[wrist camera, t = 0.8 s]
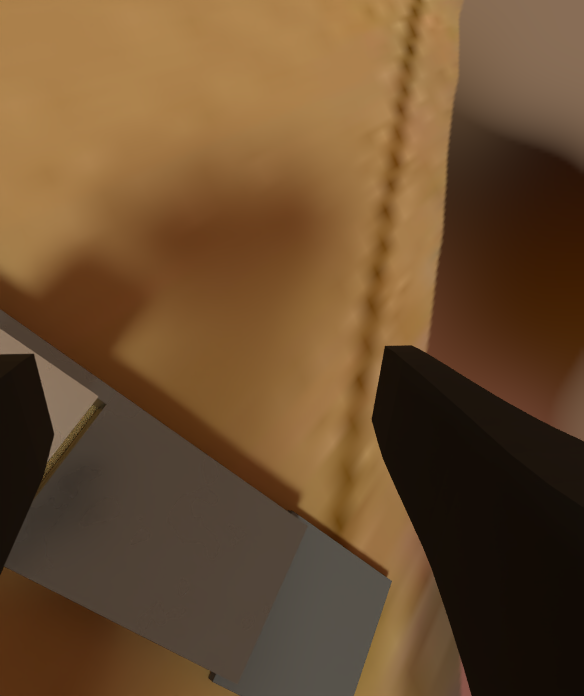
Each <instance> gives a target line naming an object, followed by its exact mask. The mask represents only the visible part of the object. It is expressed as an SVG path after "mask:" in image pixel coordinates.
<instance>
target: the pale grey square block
mask: <svg viewBox="0 0 584 696" xmlns="http://www.w3.org/2000/svg"><path fill="white" fill-rule="evenodd" d="M0 354H34V356H35V360H36V364H37V368H38V371H39V375H40V379H41V383H42V387H43V391H44V395H45V399H46V403H47V407H48V411H49V415H50V419H51V423H52V426H53V430H54V438H53V442H52V446H51V450H50V454H49V457H48V460H49V459H50V458H51V457H52V455H53V454H54V453H55V452H56V450H57V449H58V448H59V446H60V445H61V444H62V443H63V441H64V440H65V439H66V437H67V436H68V435H69V434H70V432H71V431H72V430H73V429H74V427H75V426H76V425H77V423H78V422H79V421H80V420H81V418H82V417H83V416H84V414H85V413H86V412H87V411H88V409H89V408H90V407H91V406H92V404H93V403H94V402H95V400H96V399H97V398H98V397H99V396H97V395H96V394H94V393H93V392H92V391H90V390H89V389H87V388H86V387H84V386H83V385H81V384H80V383H78V382H77V381H76V380H74V379H73V378H71V377H70V376H68V375H67V374H65V373H64V372H62V371H61V370H60V369H58V368H57V367H55V366H54V365H52V364H51V363H49V362H48V361H47V360H45V359H44V358H42V357H41V356H39V355H38V354H36V353H35V352H33V351H32V350H31V349H29V348H28V347H26V346H25V345H23V344H22V343H20V342H19V341H17V340H16V339H15V338H13V337H12V336H10V335H9V334H7V333H6V332H4V331H3V330H1V329H0ZM47 462H48V461H47Z"/></svg>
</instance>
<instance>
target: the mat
mask: <svg viewBox="0 0 584 696" xmlns="http://www.w3.org/2000/svg"><path fill="white" fill-rule="evenodd" d="M288 512H289V513H291V514H292V515H293V516H295V517H296V518H298V519H299V520H301V521H302V522H303V523H305V524H306V525H308V527H307V529H306V531H305V534H304V536H303V538H302V540H301V543H300V545H299V547H298V549H297V552H296V554H295V556H294V558H293V561H292V563H291V565H290V567H289V570H288V572H287V574H286V576H285V579H284V581H283V583H282V585H281V588H280V590H279V592H278V594H277V597H276V599H275V601H274V603H273V606H272V608H271V610H270V612H269V615H268V617H267V619H266V621H265V624H264V626H263V628H262V630H261V633H260V635H259V637H258V640H257V642H256V644H255V646H254V649H253V651H252V653H251V655H250V658H249V660H248V662H247V664H246V667H245V669H244V671H243V673H242V676H241V678H240V680H239V682H238V685H237V684H235V683H233V682H231V681H229V680H227V679H226V678H224V677H222V676H220V675H218V674H216V673H214V672H211V674H210V676H209V679H210V680H211V681H212V682H214V683H216V684H218V685H220V686H222V687H224V688H226V689H228V690H230V691H232V692H234V693H236V694H238V695H240V696H354V693H355V690H356V687H357V684H358V681H359V678H360V675H361V672H362V669H363V666H364V663H365V660H366V657H367V654H368V651H369V648H370V645H371V642H372V639H373V636H374V633H375V630H376V627H377V624H378V621H379V618H380V615H381V612H382V609H383V606H384V603H385V600H386V597H387V594H388V591H389V588H390V585H391V582H392V581H391V580H390V579H388V578H387V577H385V576H384V575H382V574H381V573H380V572H378V571H377V570H375V569H374V568H373V567H371V566H370V565H368V564H367V563H365V562H364V561H363V560H361V559H360V558H358V557H357V556H356V555H354V554H353V553H351V552H350V551H349V550H347V549H346V548H344V547H343V546H341V545H340V544H339V543H337V542H336V541H334V540H333V539H332V538H330V537H329V536H327V535H326V534H324V533H323V532H322V531H320V530H319V529H317V528H316V527H315V526H313V525H312V524H310V523H309V522H308V521H306V520H305V519H303V518H302V517H300V516H299V515H298V514H296V513H295V512H293V511H289V510H288Z"/></svg>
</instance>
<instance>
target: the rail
mask: <svg viewBox="0 0 584 696" xmlns="http://www.w3.org/2000/svg"><path fill="white" fill-rule="evenodd" d="M0 329H1V330H3V331H4V332H6V333H7V334H9V335H10V336H12V337H13V338H15V339H16V340H17V341H19V342H20V343H22V344H23V345H25V346H26V347H28V348H29V349H31V350H32V351H33V352H35V353H36V354H38V355H39V356H41V357H42V358H44V359H45V360H47V361H48V362H49V363H51V364H52V365H54V366H55V367H57V368H58V369H60V370H61V371H62V372H64V373H65V374H67V375H68V376H70V377H71V378H73V379H74V380H76V381H77V382H78V383H80V384H81V385H83V386H84V387H86V388H87V389H89V390H90V391H92V392H93V393H94V394H96V395H97V396H99V397H98V398H97V399H96V400H95V402H94V403H93V405H94V406H96V407H97V408H98V409H97V410H96V412H95V413H94V414H93V415H92V417H91V418H90V419H89V421H88V422H87V423H86V425H85V426H84V427H83V428H82V430H81V431H80V432H79V434H78V435H77V436H76V437H75V439H74V440H73V441H72V443H71V444H70V445H69V447H68V448H67V449H66V450H65V452H64V453H63V454H62V456H61V457H60V458H59V459H58V461H57V462H56V463H55V465H54V466H53V467H52V469H51V470H50V471H49V472H48V474H47V475H46V476H45V478H44V479H43V480H42V482H41V483H40V485H39V488H38V490H37V492H36V495H35V497H34V499H33V502H32V504H31V506H30V509H29V511H28V513H27V516H26V518H25V520H24V522H23V525H22V527H21V529H20V531H19V534H18V536H17V538H16V540H15V543H14V545H13V547H12V549H11V552H10V554H9V556H8V558H7V561H6V563H5V565H4V567H6V568H8V569H10V570H12V571H14V572H16V573H18V574H20V575H22V576H24V577H26V578H28V579H30V580H32V581H34V582H36V583H38V584H40V585H42V586H44V587H46V588H48V589H50V590H52V591H54V592H56V593H58V594H60V595H62V596H64V597H66V598H68V599H69V600H71V601H73V602H75V603H77V604H79V605H81V606H83V607H85V608H87V609H89V610H91V611H93V612H95V613H97V614H99V615H101V616H103V617H105V618H107V619H109V620H111V621H113V622H115V623H117V624H119V625H121V626H123V627H125V628H127V629H129V630H131V631H133V632H135V633H137V634H139V635H141V636H143V637H145V638H147V639H148V640H150V641H152V642H154V643H156V644H158V645H160V646H162V647H164V648H166V649H168V650H170V651H172V652H174V653H176V654H178V655H180V656H182V657H184V658H186V659H188V660H190V661H192V662H194V663H196V664H198V665H200V666H202V667H204V668H206V669H208V670H210V671H212V672H214V673H216V674H218V675H220V676H222V677H224V678H226V679H227V680H229V681H231V682H233V683H235V684H237V685H238V682H239V680H240V678H241V676H242V673H243V671H244V669H245V667H246V664H247V662H248V660H249V658H250V655H251V653H252V651H253V649H254V646H255V644H256V642H257V640H258V637H259V635H260V633H261V630H262V628H263V626H264V624H265V621H266V619H267V617H268V615H269V612H270V610H271V608H272V606H273V603H274V601H275V599H276V597H277V594H278V592H279V590H280V588H281V585H282V583H283V581H284V579H285V576H286V574H287V572H288V570H289V567H290V565H291V563H292V561H293V558H294V556H295V554H296V552H297V549H298V547H299V545H300V543H301V540H302V538H303V536H304V534H305V531H306V529H307V527H308V525H306V524H305V523H303V522H302V521H301V520H299V519H298V518H296V517H295V516H293V515H292V514H291V513H289V512H288V511H286V510H285V509H283V508H282V507H281V506H279V505H278V504H276V503H275V502H274V501H272V500H271V499H269V498H268V497H266V496H265V495H264V494H262V493H261V492H259V491H258V490H256V489H255V488H254V487H252V486H251V485H249V484H248V483H247V482H245V481H244V480H242V479H241V478H239V477H238V476H237V475H235V474H234V473H232V472H231V471H229V470H228V469H227V468H225V467H224V466H222V465H221V464H220V463H218V462H217V461H215V460H214V459H212V458H211V457H210V456H208V455H207V454H205V453H204V452H202V451H201V450H200V449H198V448H197V447H195V446H194V445H192V444H191V443H190V442H188V441H187V440H185V439H184V438H183V437H181V436H180V435H178V434H177V433H175V432H174V431H173V430H171V429H170V428H168V427H167V426H165V425H164V424H163V423H161V422H160V421H158V420H157V419H156V418H154V417H153V416H151V415H150V414H148V413H147V412H146V411H144V410H143V409H141V408H140V407H138V406H137V405H136V404H134V403H133V402H131V401H130V400H129V399H127V398H126V397H124V396H123V395H121V394H120V393H119V392H117V391H116V390H114V389H113V388H111V387H110V386H109V385H107V384H106V383H104V382H103V381H102V380H100V379H99V378H97V377H96V376H94V375H93V374H92V373H90V372H89V371H87V370H86V369H84V368H83V367H82V366H80V365H79V364H77V363H76V362H74V361H73V360H72V359H70V358H69V357H67V356H66V355H65V354H63V353H62V352H60V351H59V350H57V349H56V348H55V347H53V346H52V345H50V344H49V343H47V342H46V341H45V340H43V339H42V338H40V337H39V336H38V335H36V334H35V333H33V332H32V331H30V330H29V329H28V328H26V327H25V326H23V325H22V324H20V323H19V322H18V321H16V320H15V319H13V318H12V317H11V316H9V315H8V314H6V313H5V312H3V311H2V310H1V309H0Z"/></svg>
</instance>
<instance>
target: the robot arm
mask: <svg viewBox="0 0 584 696" xmlns="http://www.w3.org/2000/svg"><path fill="white" fill-rule="evenodd" d="M372 423H373V426H374V430H375V434H376V437H377V441H378V444H379V447H380V451H381V454H382V457H383V460H384V462H385V464H386V467H387V469H388V471H389V474H390V476H391V478H392V480H393V482H394V485H395V487H396V489H397V491H398V494H399V496H400V498H401V500H402V502H403V505H404V507H405V509H406V511H407V513H408V515H409V518H410V520H411V522H412V524H413V526H414V529H415V531H416V533H417V535H418V537H419V540H420V542H421V544H422V546H423V549H424V551H425V553H426V556H427V558H428V561H429V563H430V566H431V568H432V571H433V574H434V577H435V580H436V583H437V586H438V589H439V592H440V595H441V598H442V601H443V604H444V607H445V610H446V613H447V616H448V619H449V622H450V625H451V628H452V632H453V635H454V638H455V641H456V644H457V648H458V651H459V654H460V657H461V661H462V664H463V667H464V670H465V674H466V677H467V681H468V684H469V688H470V691H471V695H472V696H584V441H582V440H580V439H578V438H575V437H573V436H571V435H569V434H567V433H565V432H563V431H560V430H558V429H556V428H554V427H552V426H550V425H548V424H546V423H544V422H542V421H540V420H538V419H537V418H535V417H533V416H531V415H529V414H527V413H526V412H523V411H522V410H520V409H518V408H516V407H515V406H513V405H511V404H509V403H507V402H506V401H504V400H502V399H501V398H499V397H497V396H495V395H494V394H492V393H490V392H489V391H487V390H485V389H484V388H482V387H480V386H479V385H477V384H476V383H474V382H472V381H471V380H469V379H467V378H466V377H464V376H462V375H461V374H459V373H458V372H456V371H455V370H453V369H451V368H450V367H448V366H447V365H445V364H443V363H442V362H440V361H438V360H437V359H435V358H434V357H432V356H430V355H429V354H427V353H425V352H423V351H422V350H420V349H418V348H416V347H414V346H412V345H408V346H385V349H384V354H383V360H382V365H381V371H380V376H379V382H378V387H377V393H376V398H375V404H374V409H373V415H372ZM53 438H54V430H53V426H52V423H51V419H50V415H49V411H48V407H47V403H46V399H45V395H44V391H43V387H42V383H41V379H40V375H39V371H38V368H37V364H36V360H35V356H34V354H0V574H1V572H2V570H3V567H4V565H5V563H6V561H7V558H8V556H9V554H10V552H11V549H12V547H13V545H14V543H15V540H16V538H17V536H18V534H19V531H20V529H21V527H22V525H23V522H24V520H25V518H26V516H27V513H28V511H29V509H30V506H31V504H32V502H33V499H34V497H35V495H36V492H37V490H38V488H39V485H40V483H41V481H42V478H43V475H44V471H45V468H46V464H47V461H48V457H49V454H50V450H51V446H52V442H53Z"/></svg>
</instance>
